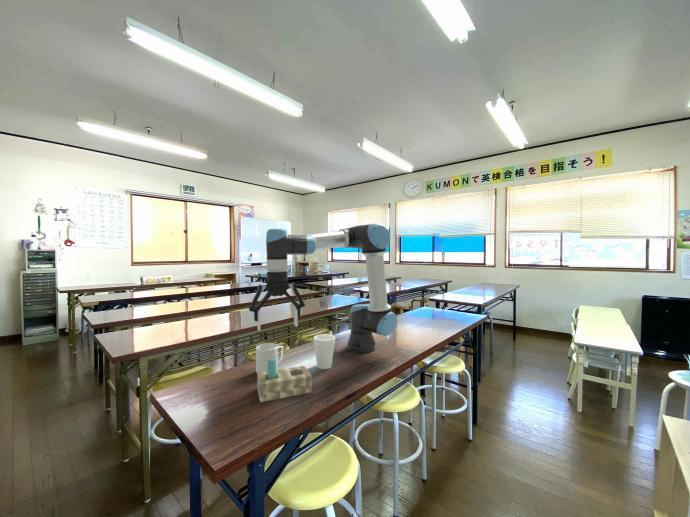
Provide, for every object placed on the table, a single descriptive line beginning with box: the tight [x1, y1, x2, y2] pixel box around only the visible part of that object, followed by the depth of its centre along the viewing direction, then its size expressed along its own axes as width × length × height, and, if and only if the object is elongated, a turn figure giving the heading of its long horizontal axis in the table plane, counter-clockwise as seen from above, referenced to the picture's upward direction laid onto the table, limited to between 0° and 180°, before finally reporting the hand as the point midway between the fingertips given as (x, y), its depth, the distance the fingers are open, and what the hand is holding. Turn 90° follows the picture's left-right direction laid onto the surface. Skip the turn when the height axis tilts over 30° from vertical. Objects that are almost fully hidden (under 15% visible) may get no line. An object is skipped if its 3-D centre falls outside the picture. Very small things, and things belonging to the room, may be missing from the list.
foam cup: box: [313, 333, 336, 370], centre depth 125 cm, size 10×9×13 cm
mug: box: [255, 342, 285, 374], centre depth 119 cm, size 12×9×11 cm
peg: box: [268, 358, 276, 380], centre depth 101 cm, size 3×3×12 cm
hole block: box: [256, 365, 313, 403], centre depth 103 cm, size 18×10×6 cm, turn 112°
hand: (277, 327), depth 105 cm, fingers open, 13 cm apart
